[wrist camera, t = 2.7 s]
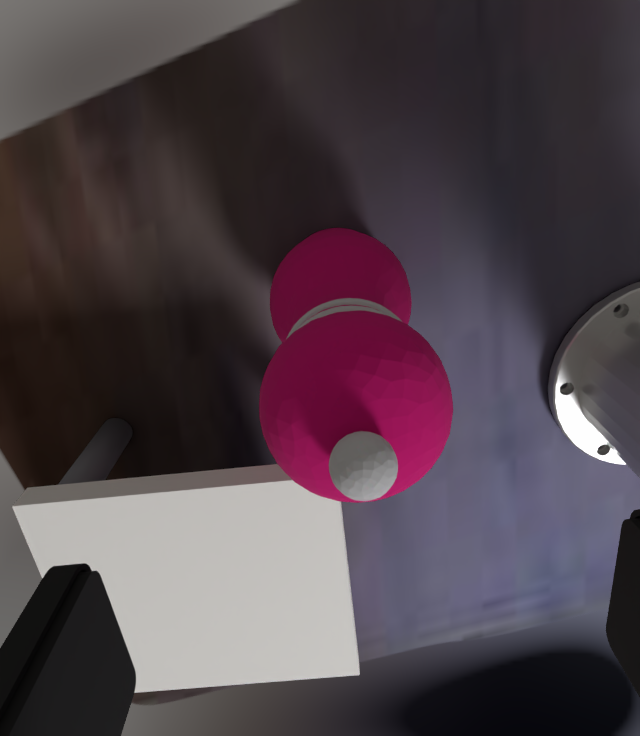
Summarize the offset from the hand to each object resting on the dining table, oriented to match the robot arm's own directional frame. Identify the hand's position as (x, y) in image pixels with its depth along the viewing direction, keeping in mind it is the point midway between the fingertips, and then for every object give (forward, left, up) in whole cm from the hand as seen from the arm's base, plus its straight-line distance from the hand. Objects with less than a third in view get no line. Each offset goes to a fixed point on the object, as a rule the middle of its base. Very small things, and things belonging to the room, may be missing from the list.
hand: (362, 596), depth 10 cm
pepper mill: (0, 0, -24) cm, 24 cm away
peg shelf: (+9, +14, -23) cm, 29 cm away
